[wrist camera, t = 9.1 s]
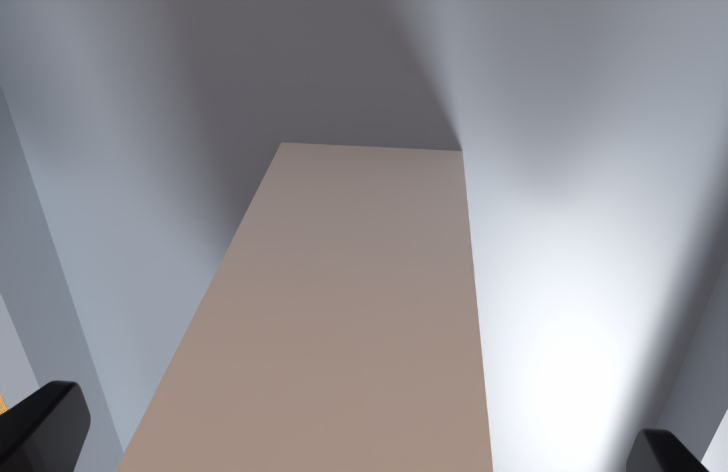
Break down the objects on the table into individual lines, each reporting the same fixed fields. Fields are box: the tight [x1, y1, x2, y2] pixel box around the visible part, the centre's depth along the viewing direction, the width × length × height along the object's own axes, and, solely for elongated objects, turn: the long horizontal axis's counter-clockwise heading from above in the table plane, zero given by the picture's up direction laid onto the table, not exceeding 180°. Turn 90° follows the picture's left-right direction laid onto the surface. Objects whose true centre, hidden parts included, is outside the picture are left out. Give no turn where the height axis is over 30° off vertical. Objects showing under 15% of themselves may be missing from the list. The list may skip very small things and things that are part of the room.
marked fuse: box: [115, 142, 493, 472], centre depth 10 cm, size 6×3×8 cm, turn 0°
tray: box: [0, 0, 728, 472], centre depth 12 cm, size 23×16×2 cm
